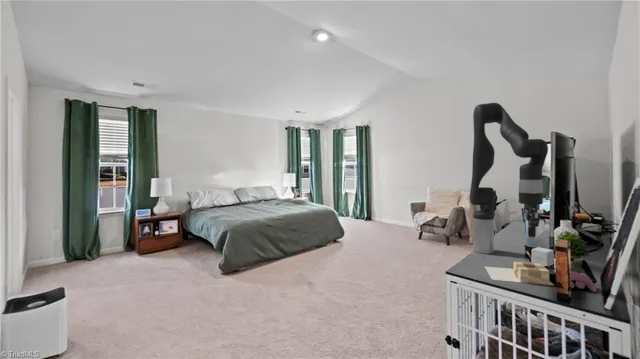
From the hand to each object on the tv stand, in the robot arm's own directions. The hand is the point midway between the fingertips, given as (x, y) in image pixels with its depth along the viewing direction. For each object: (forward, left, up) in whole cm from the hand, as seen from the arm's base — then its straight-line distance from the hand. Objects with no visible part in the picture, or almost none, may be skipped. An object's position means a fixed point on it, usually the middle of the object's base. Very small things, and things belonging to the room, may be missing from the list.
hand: (530, 235), depth 111 cm
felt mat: (-3, -4, -17) cm, 18 cm away
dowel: (0, 0, -4) cm, 4 cm away
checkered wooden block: (0, 0, -17) cm, 17 cm away
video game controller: (+5, +12, -18) cm, 22 cm away
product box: (-19, +10, -18) cm, 28 cm away
